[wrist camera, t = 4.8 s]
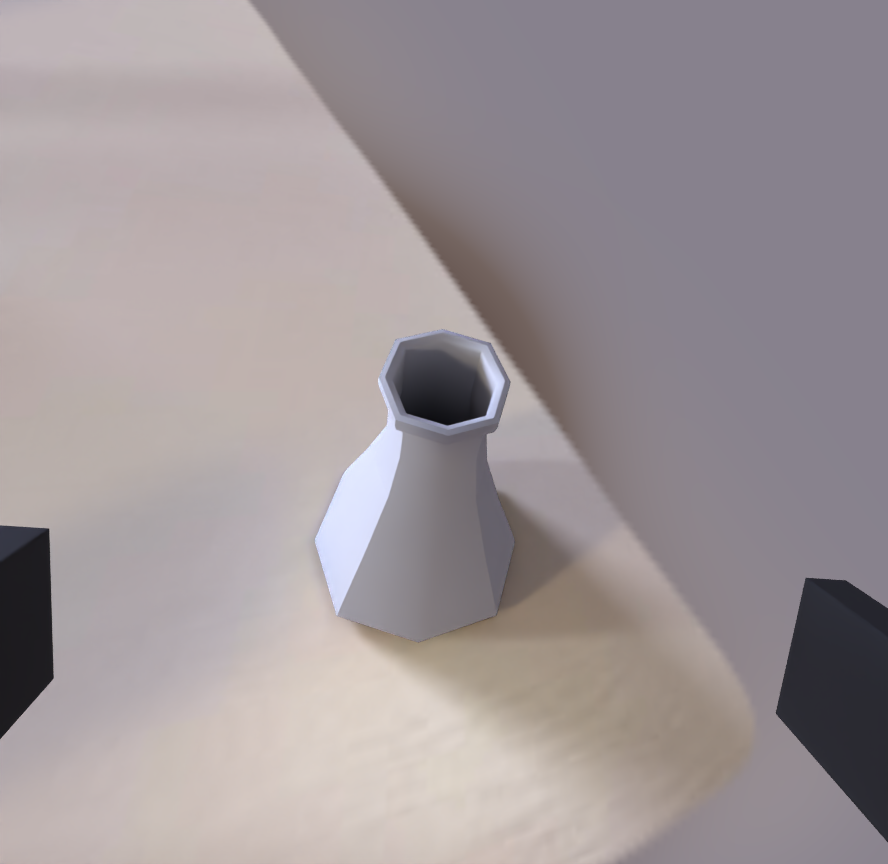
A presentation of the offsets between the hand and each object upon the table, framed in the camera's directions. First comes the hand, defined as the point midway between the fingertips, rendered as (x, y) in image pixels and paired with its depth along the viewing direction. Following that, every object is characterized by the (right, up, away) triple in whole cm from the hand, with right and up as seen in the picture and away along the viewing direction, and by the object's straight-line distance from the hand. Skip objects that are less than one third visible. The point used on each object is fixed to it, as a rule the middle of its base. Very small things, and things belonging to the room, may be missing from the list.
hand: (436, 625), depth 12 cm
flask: (-1, -1, +13) cm, 13 cm away
